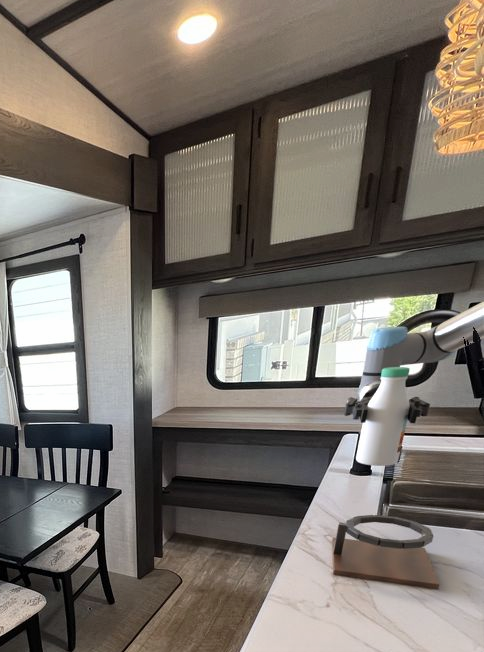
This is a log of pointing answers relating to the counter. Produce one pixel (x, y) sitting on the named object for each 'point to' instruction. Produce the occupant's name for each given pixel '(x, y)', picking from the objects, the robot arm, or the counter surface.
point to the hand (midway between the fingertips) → (388, 416)
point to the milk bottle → (385, 420)
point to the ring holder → (384, 554)
